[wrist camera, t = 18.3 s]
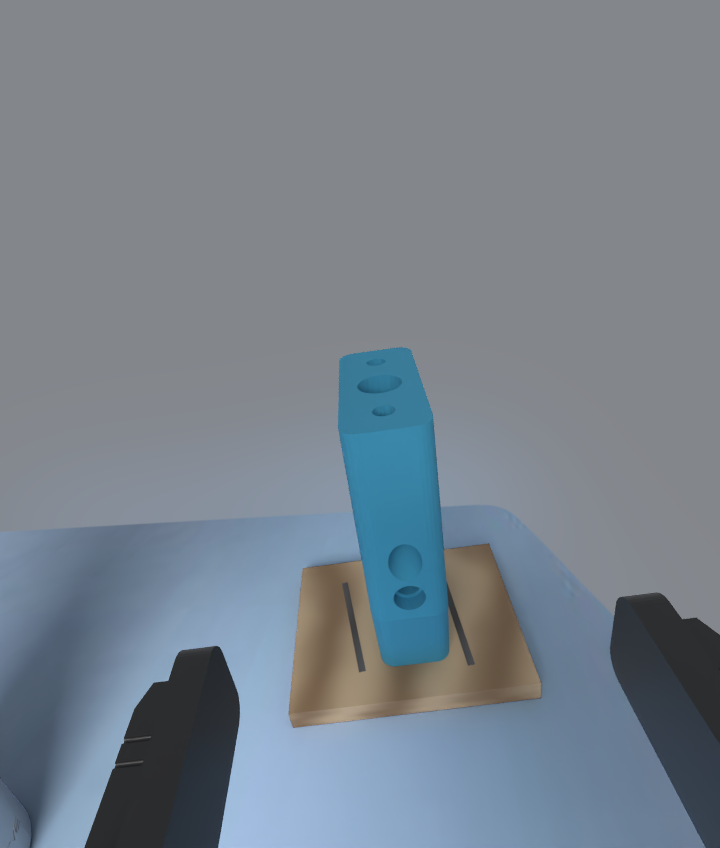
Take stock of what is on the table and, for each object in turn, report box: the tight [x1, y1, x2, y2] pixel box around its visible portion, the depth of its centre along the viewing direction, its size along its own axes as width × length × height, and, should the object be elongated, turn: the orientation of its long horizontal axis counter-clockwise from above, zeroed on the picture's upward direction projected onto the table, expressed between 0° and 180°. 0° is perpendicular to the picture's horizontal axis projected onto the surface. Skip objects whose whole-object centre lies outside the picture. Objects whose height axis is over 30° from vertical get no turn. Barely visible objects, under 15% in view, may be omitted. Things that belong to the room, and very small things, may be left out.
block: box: [338, 348, 449, 666], centre depth 36 cm, size 12×5×20 cm, turn 2°
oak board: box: [289, 544, 541, 728], centre depth 42 cm, size 17×14×2 cm
